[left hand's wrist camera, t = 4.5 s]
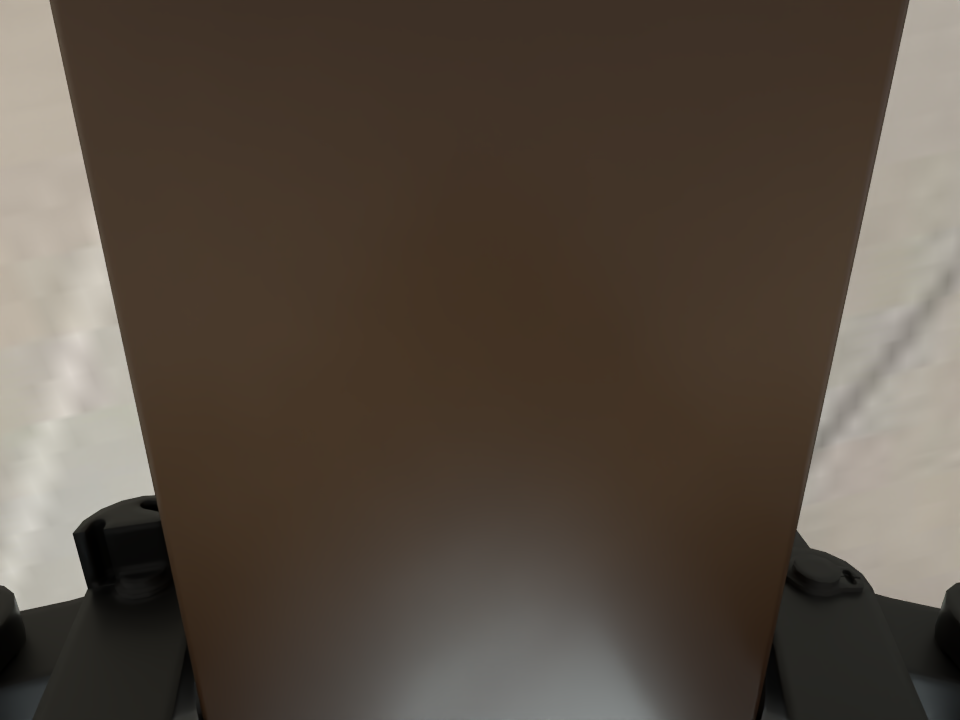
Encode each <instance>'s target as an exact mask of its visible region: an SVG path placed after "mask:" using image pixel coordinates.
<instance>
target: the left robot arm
mask: <svg viewBox="0 0 960 720" xmlns="http://www.w3.org/2000/svg"><path fill="white" fill-rule="evenodd" d="M73 536H74V540H75V544H76V547H77V551H78V555H79V558H80V562H81V566H82V569H83V573H84V576H85V580H86V584H87V587H88V590H87V592H86V594H85V597H81V598H78V599H74V600H71V601H66V602H62V603H57V604H52V605H47V606H43V607H38V608H33V609H29V610H24V611H19V608H18V605H17V602H16V599H15V596H14V593H12V592H11V591H10V590H8V589H7V588H6V587H5V586H1V585H0V720H203V716H202V711H201V706H200V702H199V697H198V692H197V688H196V683H195V678H194V674H193V669H192V664H191V660H190V655H189V650H188V646H187V641H186V636H185V632H184V627H183V622H182V618H181V613H180V608H179V604H178V599H177V594H176V589H175V585H174V580H173V575H172V571H171V566H170V561H169V557H168V552H167V547H166V543H165V538H164V533H163V529H162V524H161V519H160V515H159V510H158V505H157V501H156V496H155V495H154V496H141V497H137V498H132V499H128V500H123V501H120V502H118V503H115V504H113V505H110V506H108V507H106V508H103V509H101V510H99V511H98V512H96V513H95V514H93V515H92V516H90V517H89V518H87V519H86V520H84V521H83V522H82V523H81V524H80V526H79V527H78V528H77V529H76V530H75V531H74V533H73ZM756 720H960V583H956V584H955V585H953V586H952V587H951V588H949V589H948V590H947V591H946V594H945V597H944V600H943V603H942V606H941V609H940V608H935V607H930V606H926V605H921V604H916V603H911V602H907V601H902V600H897V599H893V598H888V597H885V596H881V595H878V594H875V593H874V591H873V588H872V587H871V585H870V584H869V583H868V581H867V580H866V579H865V577H864V576H863V574H862V573H860V572H859V571H858V570H856V569H855V568H854V567H852V566H851V565H850V564H848V563H847V562H846V561H843V560H841V559H839V558H837V557H835V556H833V555H831V554H828V553H826V552H823V551H819V550H815V549H811V548H809V546H808V545H807V543H806V542H805V541H804V539H803V538H802V537H801V535H800V534H799V533H798V531H797V530H796V534H795V539H794V543H793V548H792V553H791V557H790V562H789V567H788V571H787V576H786V581H785V585H784V590H783V595H782V600H781V604H780V609H779V614H778V618H777V623H776V628H775V632H774V637H773V642H772V646H771V651H770V656H769V660H768V665H767V670H766V675H765V679H764V684H763V689H762V693H761V698H760V703H759V707H758V712H757V717H756Z"/></svg>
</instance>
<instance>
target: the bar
mask: <svg viewBox="0 0 960 720" xmlns="http://www.w3.org/2000/svg"><path fill="white" fill-rule="evenodd" d="M908 4H909V0H50V5H51V9H52V14H53V19H54V23H55V28H56V33H57V37H58V42H59V47H60V52H61V56H62V61H63V66H64V70H65V75H66V80H67V84H68V89H69V94H70V98H71V103H72V108H73V112H74V117H75V122H76V126H77V131H78V136H79V140H80V145H81V150H82V154H83V159H84V164H85V168H86V173H87V178H88V182H89V187H90V192H91V197H92V201H93V206H94V211H95V215H96V220H97V225H98V229H99V234H100V239H101V243H102V248H103V253H104V257H105V262H106V267H107V271H108V276H109V281H110V285H111V290H112V295H113V299H114V304H115V309H116V313H117V318H118V323H119V328H120V332H121V337H122V342H123V346H124V351H125V356H126V360H127V365H128V370H129V374H130V379H131V384H132V388H133V393H134V398H135V402H136V407H137V412H138V416H139V421H140V426H141V430H142V435H143V440H144V444H145V449H146V454H147V458H148V463H149V468H150V473H151V477H152V482H153V487H154V491H155V496H156V501H157V505H158V510H159V515H160V519H161V524H162V529H163V533H164V538H165V543H166V547H167V552H168V557H169V561H170V566H171V571H172V575H173V580H174V585H175V589H176V594H177V599H178V604H179V608H180V613H181V618H182V622H183V627H184V632H185V636H186V641H187V646H188V650H189V655H190V660H191V664H192V669H193V674H194V678H195V683H196V688H197V692H198V697H199V702H200V706H201V711H202V716H203V720H756V717H757V712H758V707H759V703H760V698H761V693H762V689H763V684H764V679H765V675H766V670H767V665H768V660H769V656H770V651H771V646H772V642H773V637H774V632H775V628H776V623H777V618H778V614H779V609H780V604H781V600H782V595H783V590H784V585H785V581H786V576H787V571H788V567H789V562H790V557H791V553H792V548H793V543H794V539H795V534H796V529H797V525H798V520H799V515H800V511H801V506H802V501H803V496H804V492H805V487H806V482H807V478H808V473H809V468H810V464H811V459H812V454H813V450H814V445H815V440H816V436H817V431H818V426H819V421H820V417H821V412H822V407H823V403H824V398H825V393H826V389H827V384H828V379H829V375H830V370H831V365H832V361H833V356H834V351H835V346H836V342H837V337H838V332H839V328H840V323H841V318H842V314H843V309H844V304H845V300H846V295H847V290H848V286H849V281H850V276H851V271H852V267H853V262H854V257H855V253H856V248H857V243H858V239H859V234H860V229H861V225H862V220H863V215H864V211H865V206H866V201H867V196H868V192H869V187H870V182H871V178H872V173H873V168H874V164H875V159H876V154H877V150H878V145H879V140H880V136H881V131H882V126H883V121H884V117H885V112H886V107H887V103H888V98H889V93H890V89H891V84H892V79H893V75H894V70H895V65H896V61H897V56H898V51H899V46H900V42H901V37H902V32H903V28H904V23H905V18H906V14H907V9H908Z"/></svg>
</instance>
